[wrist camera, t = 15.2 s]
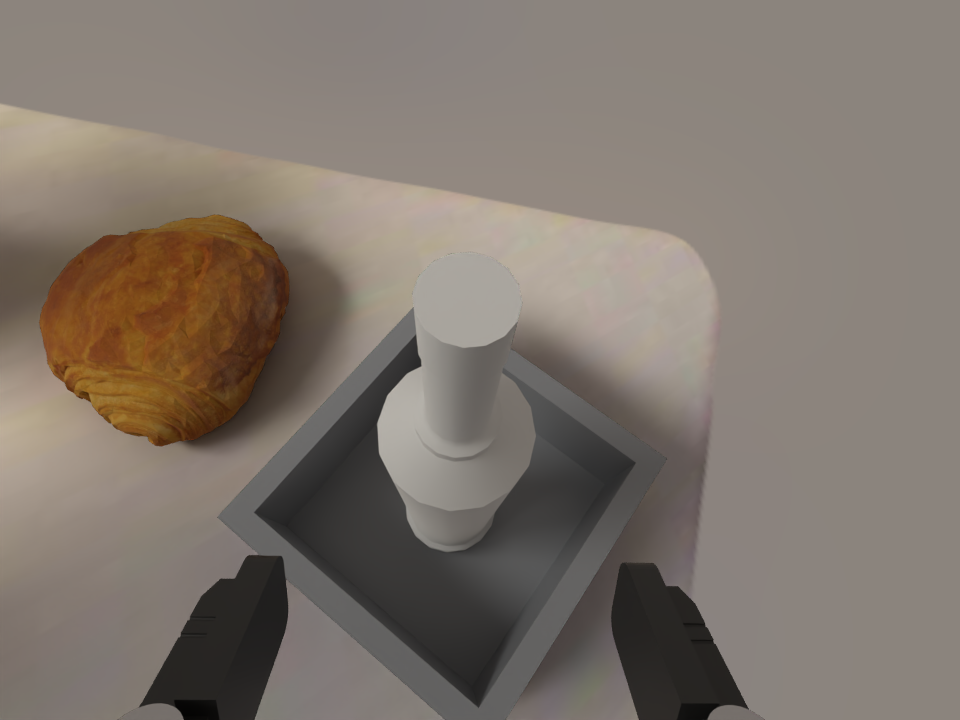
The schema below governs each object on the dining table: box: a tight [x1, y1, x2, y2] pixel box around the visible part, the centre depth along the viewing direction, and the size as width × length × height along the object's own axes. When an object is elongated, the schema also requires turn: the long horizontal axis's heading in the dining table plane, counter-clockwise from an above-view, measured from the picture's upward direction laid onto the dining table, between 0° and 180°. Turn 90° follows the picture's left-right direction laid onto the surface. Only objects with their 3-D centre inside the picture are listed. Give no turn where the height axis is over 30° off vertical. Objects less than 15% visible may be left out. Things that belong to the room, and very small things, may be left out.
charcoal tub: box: [217, 307, 667, 720], centre depth 31 cm, size 16×16×7 cm
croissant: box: [39, 215, 289, 446], centre depth 35 cm, size 14×16×8 cm
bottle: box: [377, 252, 536, 553], centre depth 22 cm, size 5×5×25 cm
